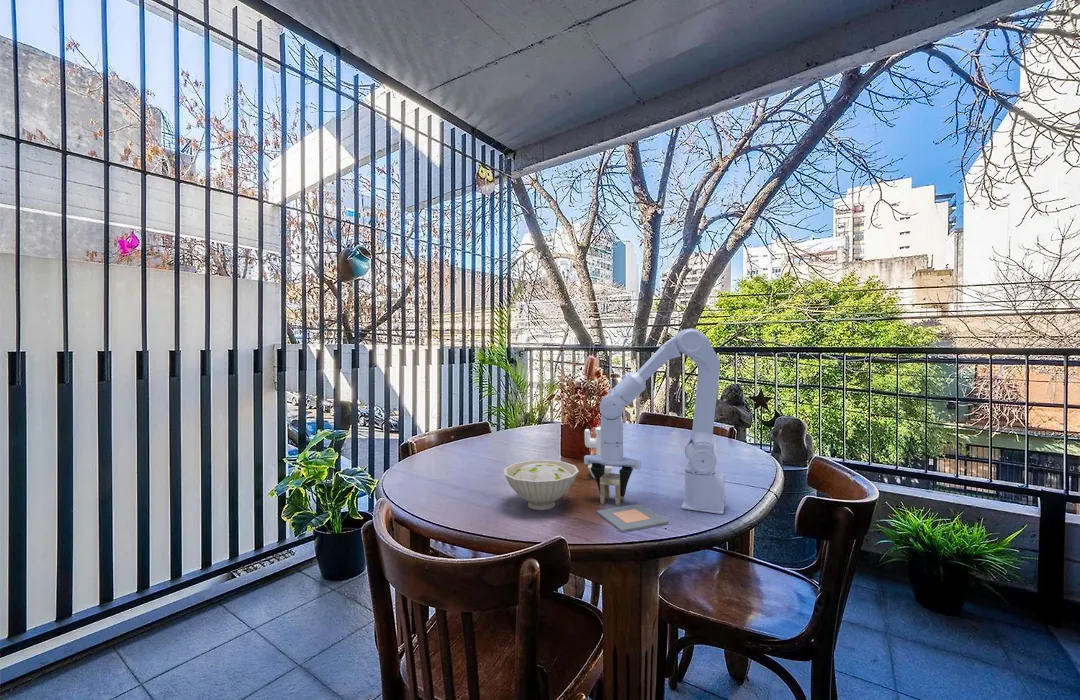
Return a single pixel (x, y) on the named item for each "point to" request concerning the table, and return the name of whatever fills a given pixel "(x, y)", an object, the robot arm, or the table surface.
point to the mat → (631, 517)
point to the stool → (604, 487)
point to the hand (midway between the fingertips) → (612, 493)
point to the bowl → (541, 481)
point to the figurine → (595, 444)
